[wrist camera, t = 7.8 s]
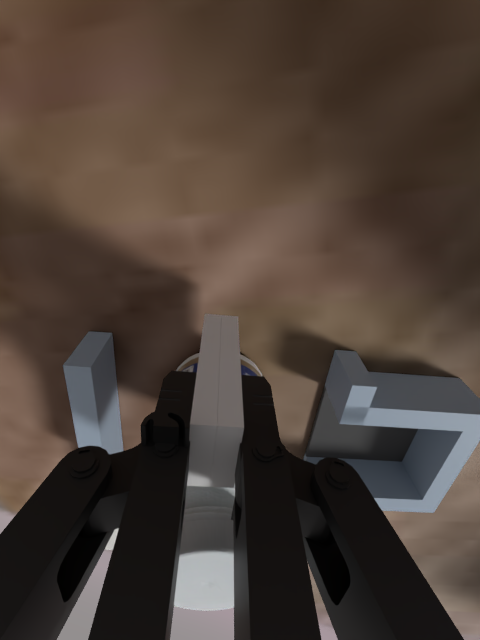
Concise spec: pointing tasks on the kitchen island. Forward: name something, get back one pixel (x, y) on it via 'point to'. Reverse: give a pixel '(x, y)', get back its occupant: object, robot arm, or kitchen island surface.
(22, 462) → the kitchen island surface
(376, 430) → the pit
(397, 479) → the blue-grey open frame
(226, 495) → the pill bottle
